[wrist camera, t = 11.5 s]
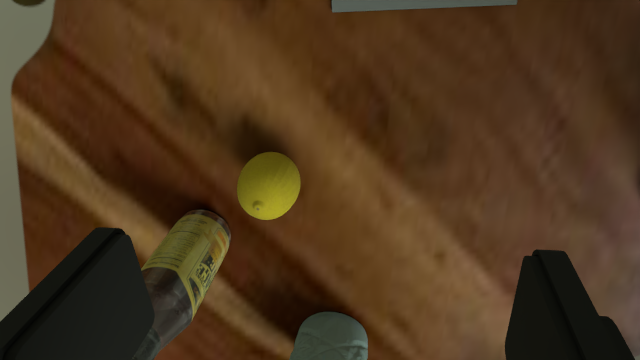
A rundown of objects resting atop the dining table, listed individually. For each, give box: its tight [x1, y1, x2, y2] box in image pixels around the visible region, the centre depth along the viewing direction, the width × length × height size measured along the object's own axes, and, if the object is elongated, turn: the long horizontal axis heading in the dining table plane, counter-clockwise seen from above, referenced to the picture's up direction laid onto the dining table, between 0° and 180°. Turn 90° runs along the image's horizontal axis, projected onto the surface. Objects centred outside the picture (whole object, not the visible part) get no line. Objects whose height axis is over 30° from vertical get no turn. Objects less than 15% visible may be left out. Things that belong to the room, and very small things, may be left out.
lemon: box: [237, 152, 300, 220], centre depth 40 cm, size 6×6×8 cm
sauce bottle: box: [132, 210, 231, 360], centre depth 40 cm, size 6×6×20 cm
